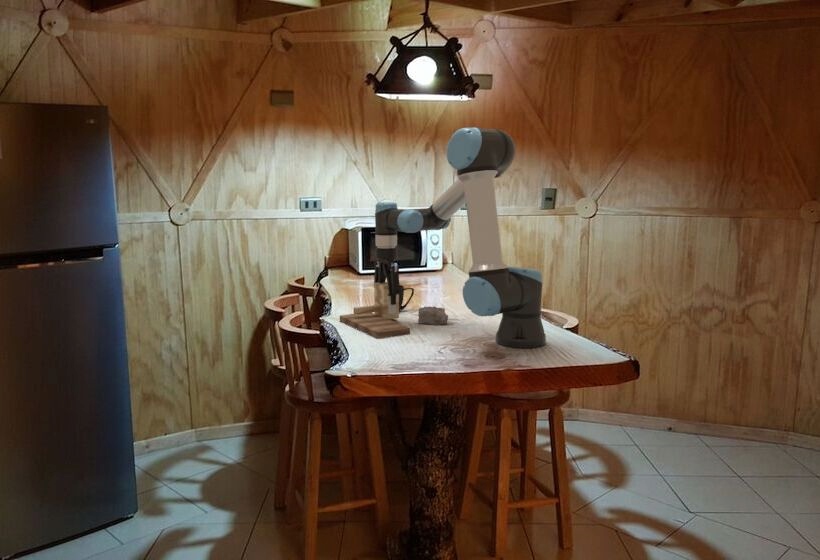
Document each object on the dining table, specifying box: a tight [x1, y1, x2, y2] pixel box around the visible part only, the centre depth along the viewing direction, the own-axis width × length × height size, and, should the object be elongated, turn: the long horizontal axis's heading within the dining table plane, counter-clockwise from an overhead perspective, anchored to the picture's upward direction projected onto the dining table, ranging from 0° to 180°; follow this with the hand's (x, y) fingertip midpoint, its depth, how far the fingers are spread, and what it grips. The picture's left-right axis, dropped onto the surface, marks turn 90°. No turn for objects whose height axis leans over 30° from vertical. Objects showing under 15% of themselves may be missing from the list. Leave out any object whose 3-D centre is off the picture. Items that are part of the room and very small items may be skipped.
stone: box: [417, 306, 449, 326], centre depth 216 cm, size 10×8×6 cm
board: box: [339, 312, 411, 339], centre depth 210 cm, size 28×12×2 cm, turn 31°
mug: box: [399, 284, 415, 313], centre depth 235 cm, size 8×12×10 cm
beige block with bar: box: [353, 281, 400, 320], centre depth 218 cm, size 7×16×12 cm, turn 121°
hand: (386, 311), depth 221 cm, fingers closed on beige block with bar, 7 cm apart
